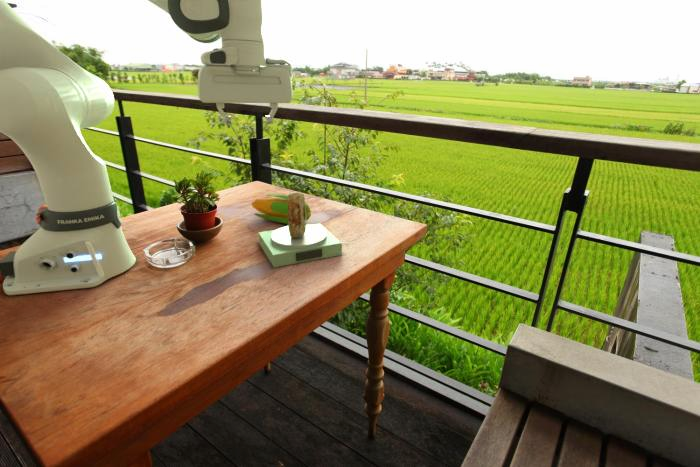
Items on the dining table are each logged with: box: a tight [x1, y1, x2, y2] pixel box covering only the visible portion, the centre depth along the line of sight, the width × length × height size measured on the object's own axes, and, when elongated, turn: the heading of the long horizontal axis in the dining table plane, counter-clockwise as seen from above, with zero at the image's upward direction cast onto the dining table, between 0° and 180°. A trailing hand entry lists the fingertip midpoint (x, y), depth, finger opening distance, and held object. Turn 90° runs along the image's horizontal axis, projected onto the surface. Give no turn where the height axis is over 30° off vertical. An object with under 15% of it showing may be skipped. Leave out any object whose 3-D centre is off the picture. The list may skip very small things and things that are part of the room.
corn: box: [251, 193, 312, 225], centre depth 109 cm, size 7×8×20 cm
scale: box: [257, 222, 343, 268], centre depth 91 cm, size 16×14×4 cm
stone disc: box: [287, 192, 307, 238], centre depth 89 cm, size 10×4×10 cm, turn 0°
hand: (248, 124), depth 88 cm, fingers open, 8 cm apart
